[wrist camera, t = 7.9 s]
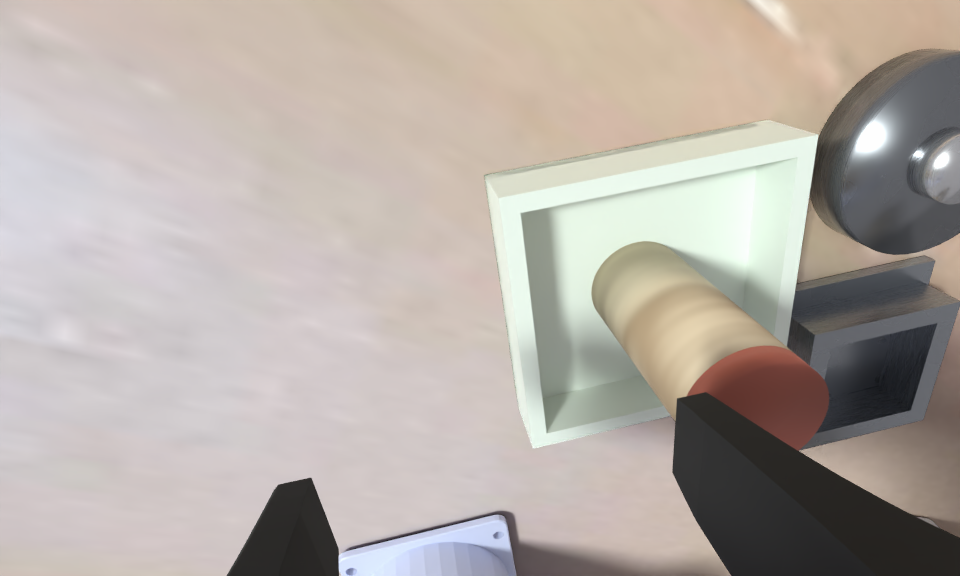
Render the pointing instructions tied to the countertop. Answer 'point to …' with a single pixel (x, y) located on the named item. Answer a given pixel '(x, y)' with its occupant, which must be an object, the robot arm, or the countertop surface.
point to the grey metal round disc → (894, 156)
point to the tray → (629, 219)
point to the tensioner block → (873, 344)
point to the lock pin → (704, 343)
